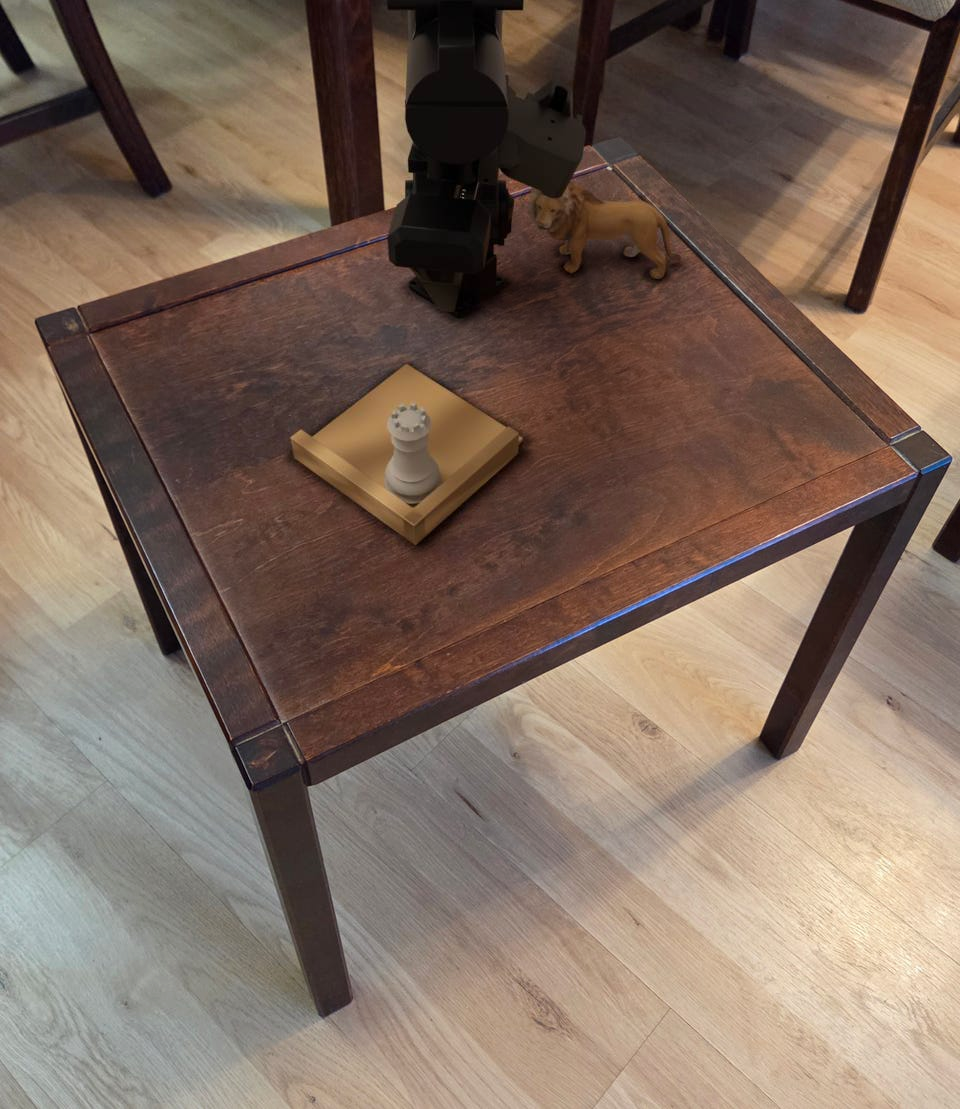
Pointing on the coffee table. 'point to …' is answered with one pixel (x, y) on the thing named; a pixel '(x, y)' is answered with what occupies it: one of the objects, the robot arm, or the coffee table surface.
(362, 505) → the corner guide
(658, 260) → the lion figurine
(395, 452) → the rook chess piece
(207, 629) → the coffee table surface
